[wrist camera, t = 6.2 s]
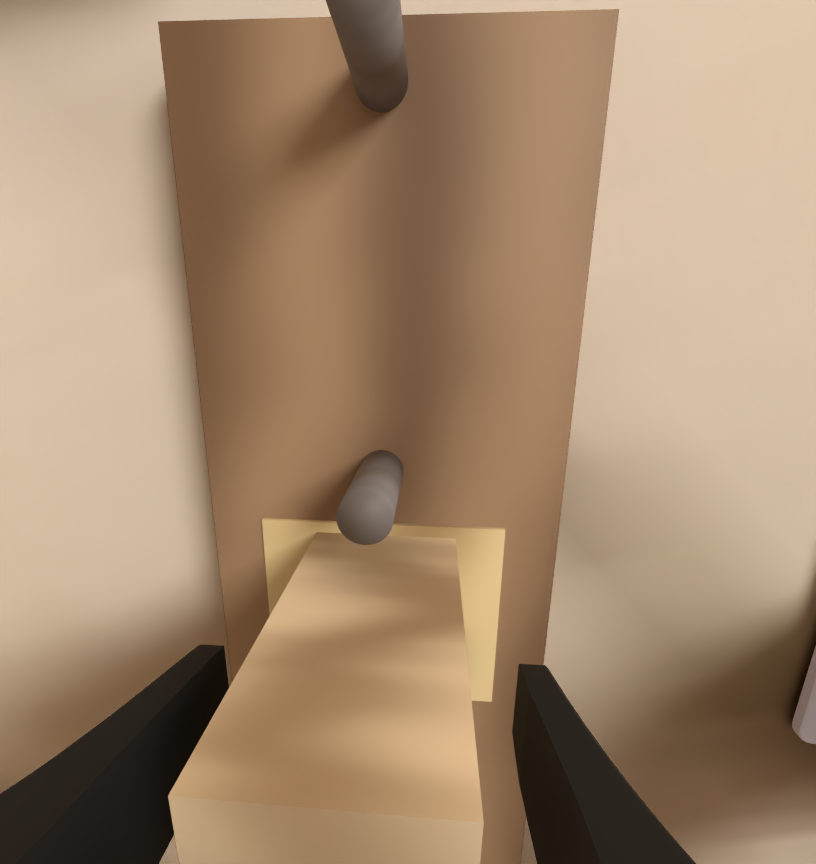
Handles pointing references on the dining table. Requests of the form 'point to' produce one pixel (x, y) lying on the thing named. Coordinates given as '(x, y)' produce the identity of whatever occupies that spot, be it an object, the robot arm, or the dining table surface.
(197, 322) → the peg board
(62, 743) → the dining table surface
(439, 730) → the light brown rectangular slab
